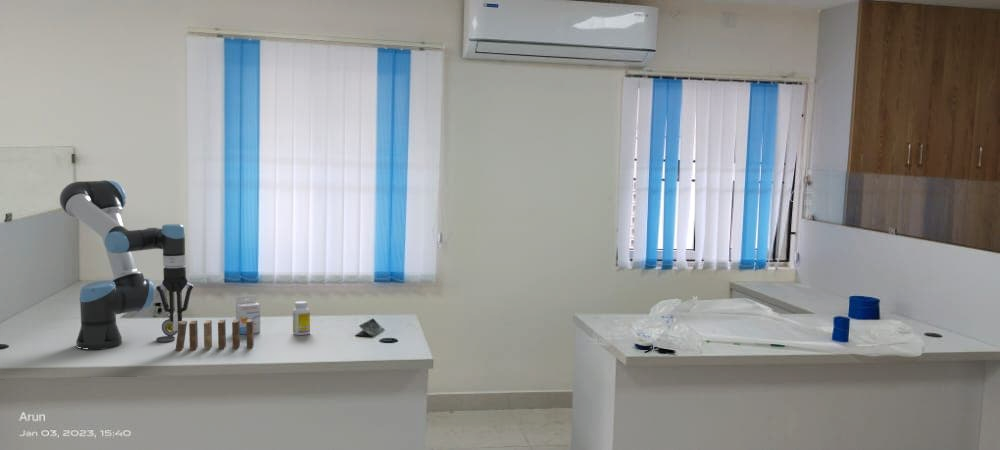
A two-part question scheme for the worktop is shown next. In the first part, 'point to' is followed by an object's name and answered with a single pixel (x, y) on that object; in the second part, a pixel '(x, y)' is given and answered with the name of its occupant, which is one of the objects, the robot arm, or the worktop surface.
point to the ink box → (248, 312)
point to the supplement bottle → (301, 318)
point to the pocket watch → (167, 331)
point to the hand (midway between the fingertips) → (176, 330)
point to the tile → (207, 334)
